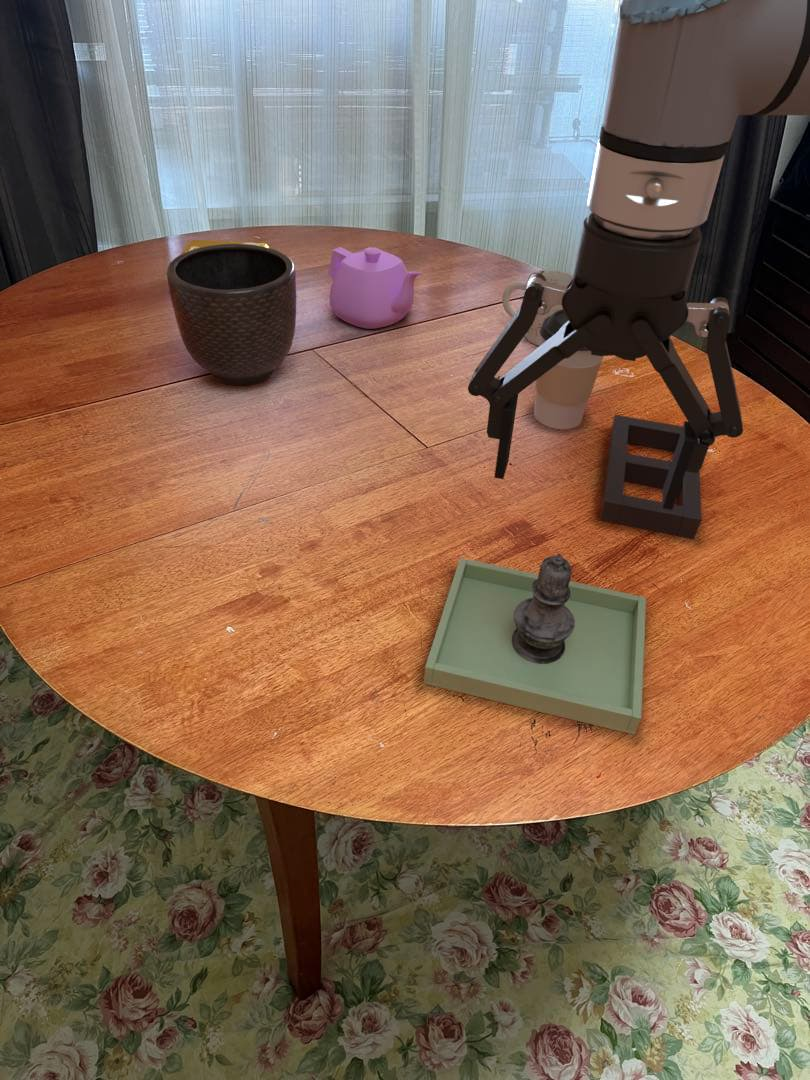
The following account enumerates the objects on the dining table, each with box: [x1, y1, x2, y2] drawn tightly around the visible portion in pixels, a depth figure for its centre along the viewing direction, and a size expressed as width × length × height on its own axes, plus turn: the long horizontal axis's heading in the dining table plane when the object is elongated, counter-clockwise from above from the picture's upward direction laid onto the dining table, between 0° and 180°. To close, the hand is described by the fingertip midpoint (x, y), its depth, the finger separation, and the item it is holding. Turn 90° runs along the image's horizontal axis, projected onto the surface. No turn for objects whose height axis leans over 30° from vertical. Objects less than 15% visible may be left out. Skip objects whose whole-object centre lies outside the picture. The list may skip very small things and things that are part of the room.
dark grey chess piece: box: [512, 553, 575, 664], centre depth 71 cm, size 6×6×12 cm
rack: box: [599, 414, 702, 540], centre depth 96 cm, size 11×20×3 cm, turn 165°
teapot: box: [328, 246, 422, 330], centre depth 127 cm, size 13×20×11 cm
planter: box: [166, 244, 297, 387], centre depth 109 cm, size 17×17×16 cm
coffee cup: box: [533, 309, 604, 430], centre depth 103 cm, size 9×9×15 cm
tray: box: [423, 557, 647, 736], centre depth 75 cm, size 20×16×2 cm
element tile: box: [180, 239, 270, 255], centre depth 137 cm, size 15×15×5 cm
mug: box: [501, 269, 574, 347], centre depth 124 cm, size 8×13×10 cm, turn 61°
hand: (582, 484), depth 63 cm, fingers open, 13 cm apart
